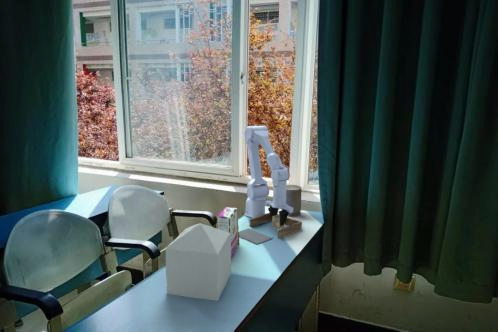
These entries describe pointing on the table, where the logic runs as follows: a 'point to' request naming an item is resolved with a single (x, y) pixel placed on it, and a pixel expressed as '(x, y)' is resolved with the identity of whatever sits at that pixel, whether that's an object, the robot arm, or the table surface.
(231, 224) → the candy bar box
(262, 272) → the table surface
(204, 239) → the decorative block
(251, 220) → the open wooden frame
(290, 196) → the pillar candle
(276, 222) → the birch block
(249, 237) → the mat
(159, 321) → the table surface
